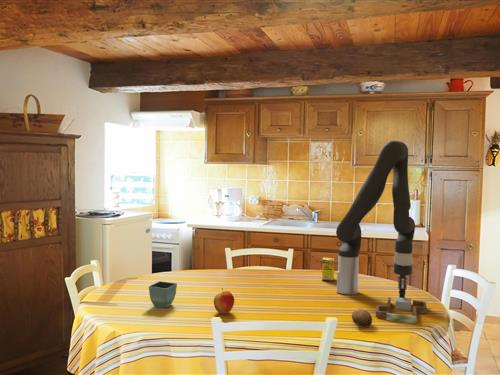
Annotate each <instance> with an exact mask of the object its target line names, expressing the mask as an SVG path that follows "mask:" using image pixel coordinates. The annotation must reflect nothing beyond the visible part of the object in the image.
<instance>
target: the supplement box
mask: <svg viewBox="0 0 500 375" xmlns="http://www.w3.org/2000/svg"><path fill="white" fill-rule="evenodd" d="M321 266H322V267H321V273H322V274H321V281H322V282H334V281H335V280H334V279H335V258H333V257H322V265H321Z"/></svg>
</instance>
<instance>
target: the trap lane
mask: <svg viewBox="0 0 500 375" xmlns="http://www.w3.org/2000/svg"><path fill="white" fill-rule="evenodd" d="M391 298H392V297H387V305H382V304H377V305H376V310H375V318H376V317H377V318H376V319H383V318H384V320H386V321H392V322H396V323H397V322H398V323H399V322H400V323H406V324H407V323H408V324H413V325H415V324H417V323H418V314H422V315H427V307H428V306H427V303H426V302H427V301H423V300H421V301H420V300H416V299H413V300H412V308H413V309H412V310H413V311H412V313H413V314H412V315H407V314H397V313H391V312H390V311H391V305H390V304H391V301H392V299H391Z"/></svg>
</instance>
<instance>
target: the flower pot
mask: <svg viewBox="0 0 500 375" xmlns="http://www.w3.org/2000/svg"><path fill="white" fill-rule="evenodd" d="M177 285H178V284H177V282H168V281H162V280H161V281H157V282H155V283H153V284H150V285H149V286H148V292H149V293H148V294H149V298H150V301H151V303H152V305H153V306H154V307H155V308H162V309H165V308H168V307H169V306H171V305H172V304H173V302H174V300H175V297H176V294H177V289H178V288H177V287H178V286H177Z"/></svg>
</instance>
